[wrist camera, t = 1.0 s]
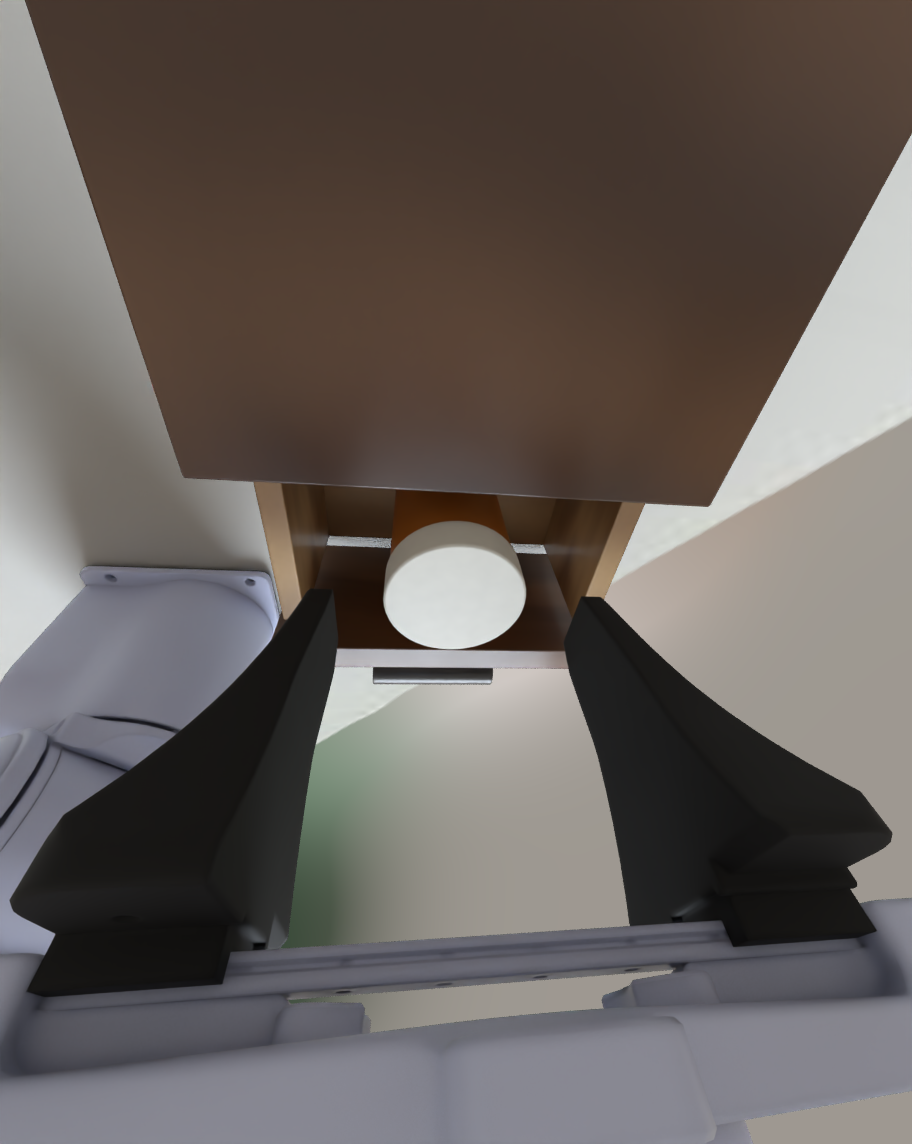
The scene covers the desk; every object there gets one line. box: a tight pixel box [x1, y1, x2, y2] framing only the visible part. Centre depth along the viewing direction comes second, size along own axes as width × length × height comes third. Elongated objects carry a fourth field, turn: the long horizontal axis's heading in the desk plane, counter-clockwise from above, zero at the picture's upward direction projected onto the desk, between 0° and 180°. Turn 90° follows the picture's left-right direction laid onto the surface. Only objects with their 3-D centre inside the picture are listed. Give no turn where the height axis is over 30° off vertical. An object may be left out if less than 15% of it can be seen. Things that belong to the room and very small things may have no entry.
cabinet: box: [25, 0, 912, 507], centre depth 11 cm, size 14×15×9 cm
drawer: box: [254, 482, 645, 684], centre depth 18 cm, size 17×13×7 cm
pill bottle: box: [383, 490, 526, 649], centre depth 16 cm, size 4×4×8 cm
